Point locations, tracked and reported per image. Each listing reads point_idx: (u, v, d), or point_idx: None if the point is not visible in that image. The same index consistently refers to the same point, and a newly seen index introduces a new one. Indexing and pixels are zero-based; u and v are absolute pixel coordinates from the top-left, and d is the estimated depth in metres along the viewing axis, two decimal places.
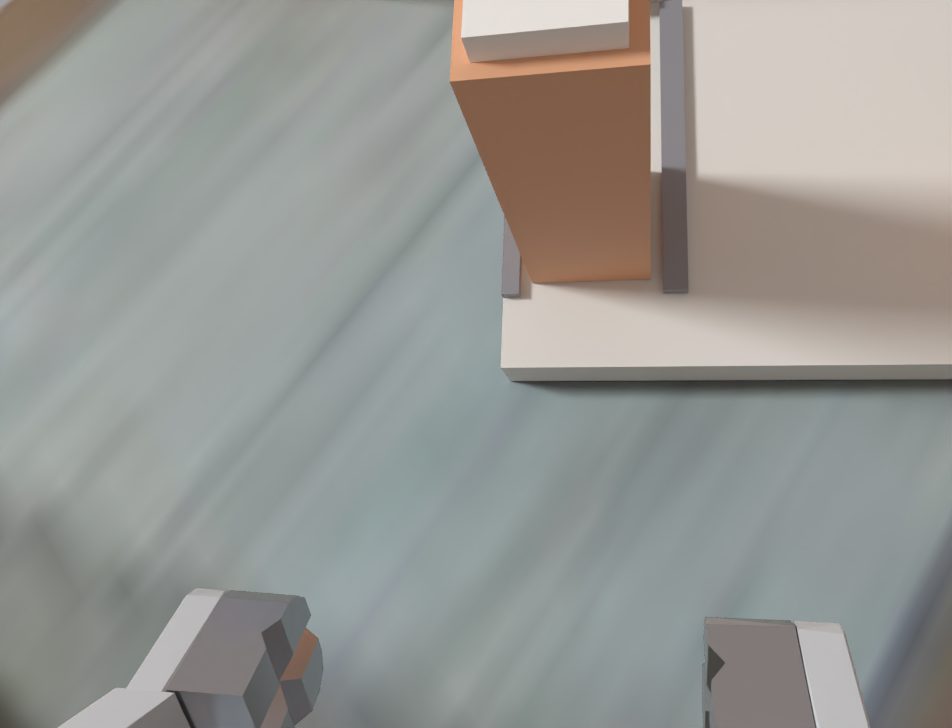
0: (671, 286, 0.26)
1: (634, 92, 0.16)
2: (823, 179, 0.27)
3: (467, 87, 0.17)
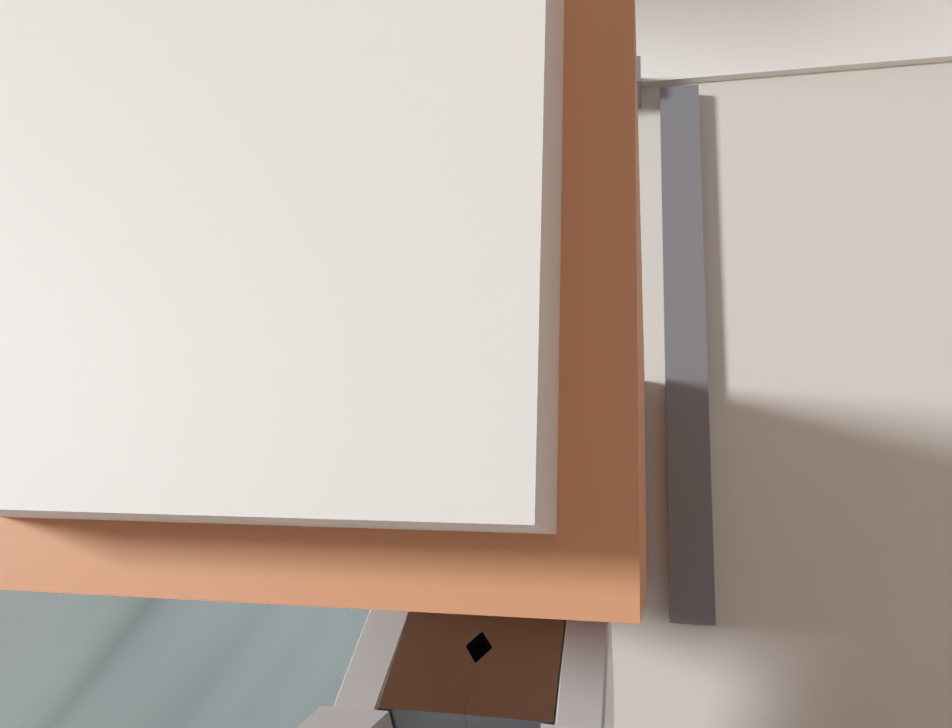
0: (684, 616, 0.15)
1: None
2: None
3: None
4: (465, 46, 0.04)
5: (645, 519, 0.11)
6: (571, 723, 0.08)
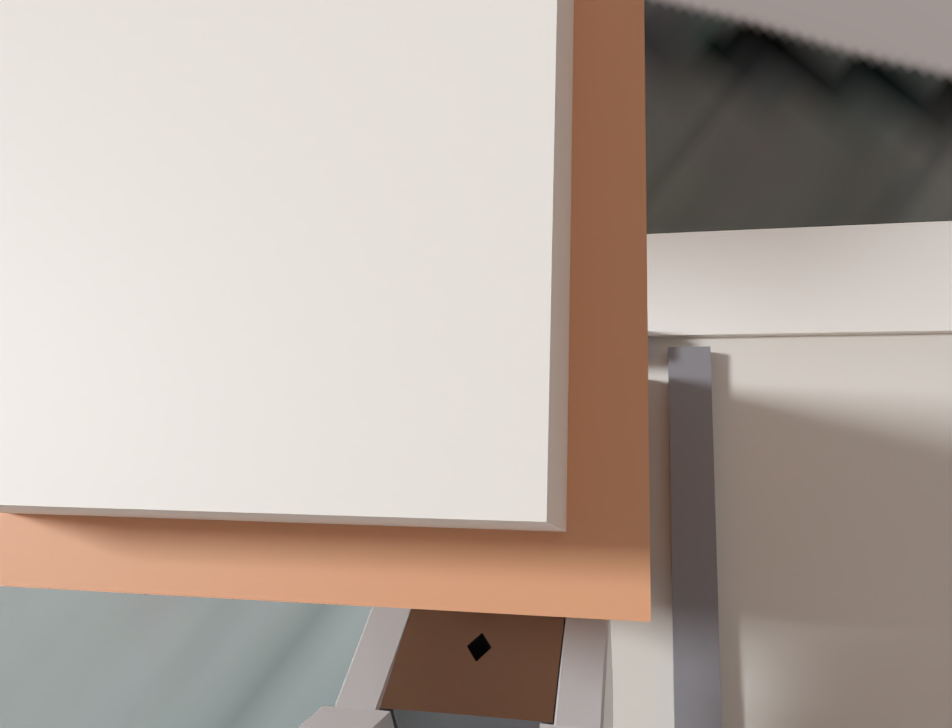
0: None
1: None
2: None
3: None
4: (476, 39, 0.04)
5: None
6: (570, 723, 0.08)
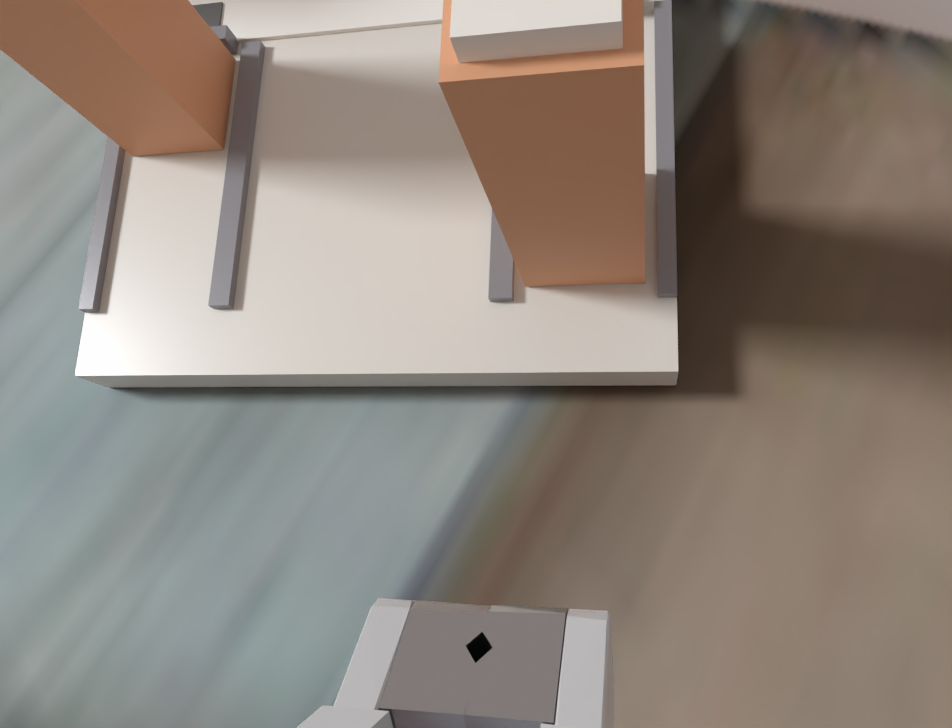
0: (216, 302, 0.29)
1: None
2: (355, 206, 0.29)
3: None
4: None
5: (166, 62, 0.27)
6: (571, 723, 0.08)
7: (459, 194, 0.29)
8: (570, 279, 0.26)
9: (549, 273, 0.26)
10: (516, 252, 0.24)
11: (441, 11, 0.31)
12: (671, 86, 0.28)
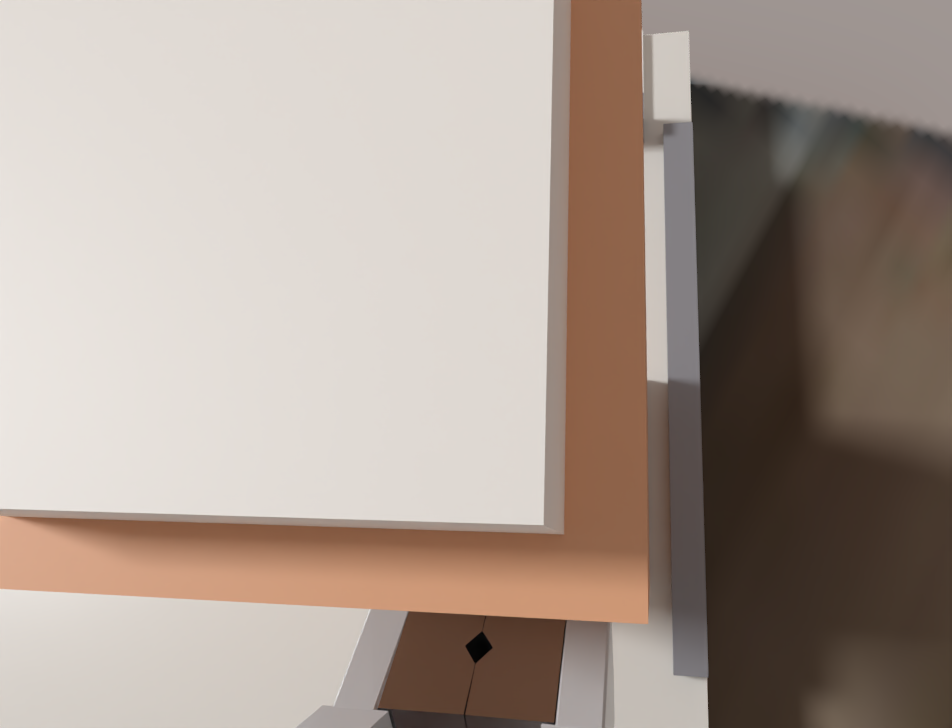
0: None
1: None
2: None
3: None
4: None
5: None
6: (571, 723, 0.08)
7: None
8: None
9: None
10: None
11: None
12: (694, 277, 0.16)
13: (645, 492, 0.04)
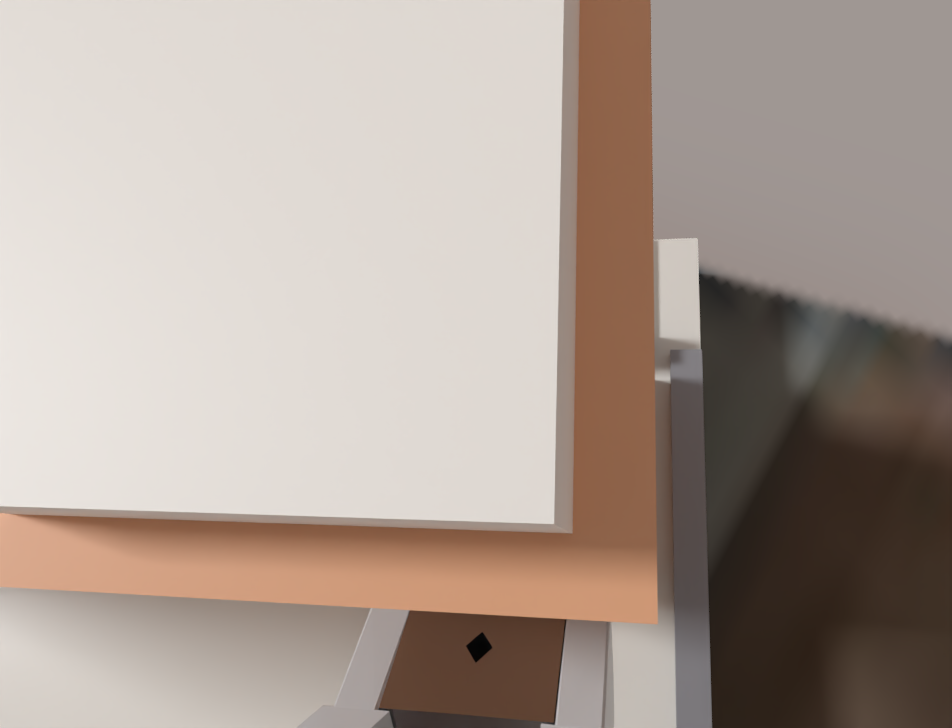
0: None
1: None
2: (141, 694, 0.17)
3: None
4: None
5: None
6: (571, 723, 0.08)
7: (319, 697, 0.16)
8: None
9: None
10: None
11: None
12: (703, 530, 0.15)
13: (655, 491, 0.04)
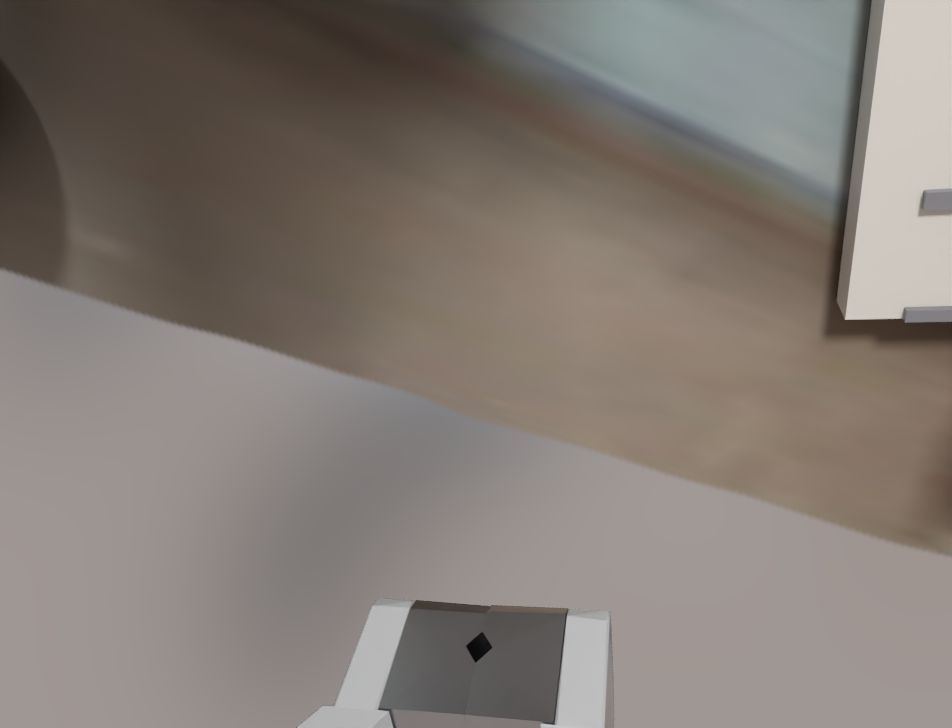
0: None
1: None
2: None
3: None
4: None
5: None
6: (571, 723, 0.08)
7: None
8: None
9: None
10: None
11: None
12: None
13: None
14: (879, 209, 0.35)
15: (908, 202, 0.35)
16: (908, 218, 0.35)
